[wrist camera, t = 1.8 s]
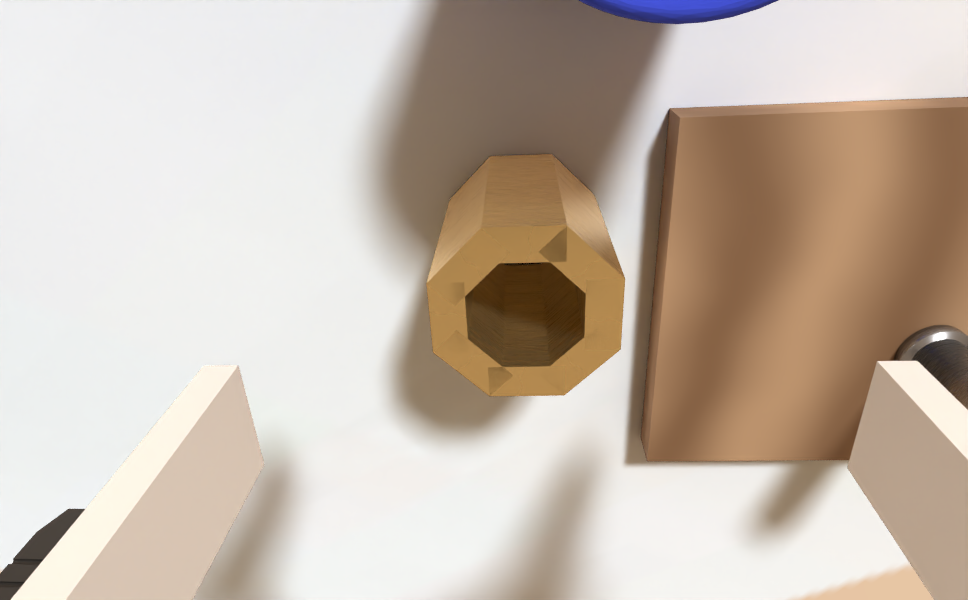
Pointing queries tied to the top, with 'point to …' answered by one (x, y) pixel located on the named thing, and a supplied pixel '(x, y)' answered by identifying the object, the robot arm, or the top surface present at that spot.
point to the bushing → (525, 280)
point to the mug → (677, 9)
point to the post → (940, 357)
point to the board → (798, 269)
